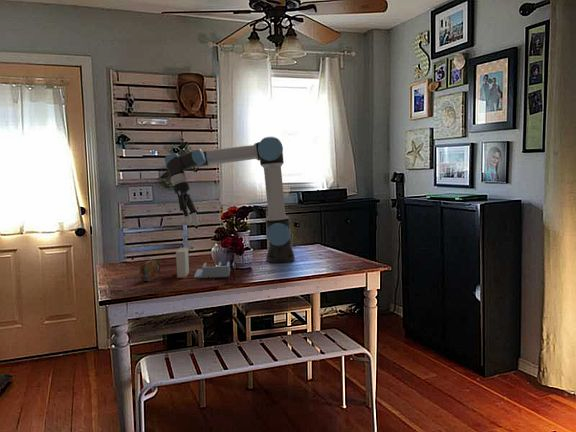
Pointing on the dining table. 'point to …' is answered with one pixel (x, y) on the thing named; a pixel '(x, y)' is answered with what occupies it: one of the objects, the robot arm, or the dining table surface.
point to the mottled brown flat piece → (149, 270)
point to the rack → (213, 271)
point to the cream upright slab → (182, 262)
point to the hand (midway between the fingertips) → (193, 224)
